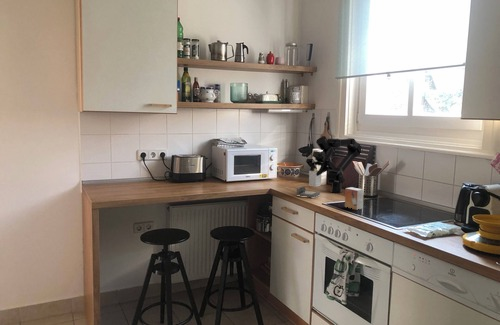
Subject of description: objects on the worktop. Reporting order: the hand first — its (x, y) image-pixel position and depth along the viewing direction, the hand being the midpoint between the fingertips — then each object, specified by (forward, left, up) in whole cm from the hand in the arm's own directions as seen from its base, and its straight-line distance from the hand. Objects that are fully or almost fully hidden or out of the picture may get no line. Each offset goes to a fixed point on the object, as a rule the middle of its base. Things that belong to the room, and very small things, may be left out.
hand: (313, 174), depth 247 cm
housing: (-1, 0, -7) cm, 7 cm away
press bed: (-2, -4, -14) cm, 14 cm away
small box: (+15, +29, -14) cm, 35 cm away
